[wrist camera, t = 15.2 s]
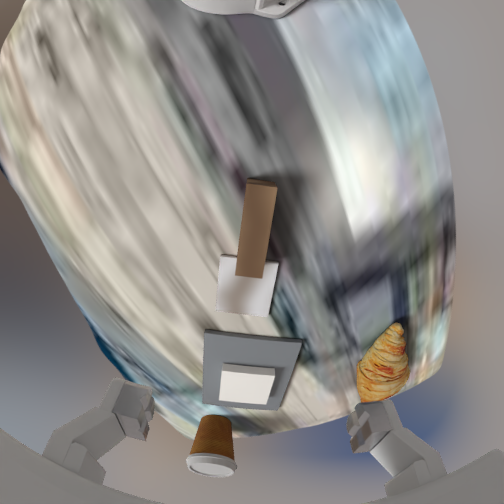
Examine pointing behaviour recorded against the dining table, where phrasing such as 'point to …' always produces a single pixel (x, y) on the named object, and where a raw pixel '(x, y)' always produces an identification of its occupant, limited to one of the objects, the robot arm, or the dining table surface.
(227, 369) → the tile
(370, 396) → the croissant
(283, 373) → the slate board
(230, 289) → the wooden handled scraper
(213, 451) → the disposable coffee cup
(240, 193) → the dining table surface
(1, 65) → the dining table surface
